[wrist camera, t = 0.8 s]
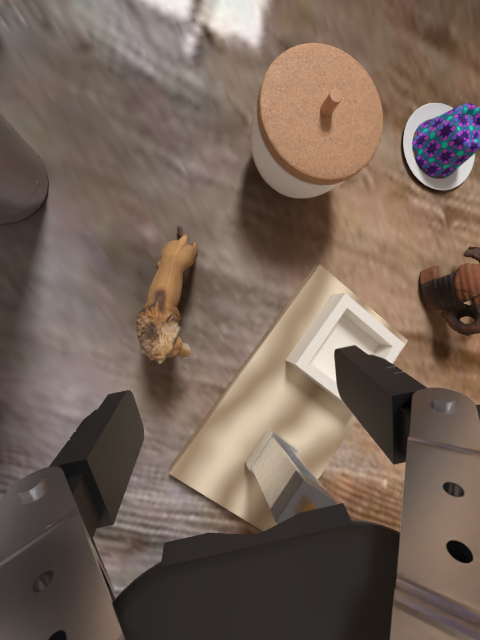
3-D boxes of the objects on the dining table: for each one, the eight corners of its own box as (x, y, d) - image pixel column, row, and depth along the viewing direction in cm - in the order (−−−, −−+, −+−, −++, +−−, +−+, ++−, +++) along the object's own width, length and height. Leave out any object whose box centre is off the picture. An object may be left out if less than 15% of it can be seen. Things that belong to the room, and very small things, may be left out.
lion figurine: (188, 355, 33) (190, 369, 24) (140, 351, 32) (124, 365, 23) (200, 230, 33) (207, 199, 24) (153, 223, 32) (143, 188, 23)
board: (169, 466, 32) (169, 473, 31) (314, 266, 36) (320, 264, 34) (273, 531, 35) (277, 540, 34) (399, 339, 38) (407, 340, 37)
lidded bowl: (342, 207, 36) (409, 162, 26) (250, 220, 34) (282, 176, 23) (324, 108, 36) (386, 19, 25) (229, 115, 33) (252, 19, 22)
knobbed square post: (244, 461, 33) (277, 536, 22) (268, 426, 33) (312, 483, 22) (269, 477, 33) (313, 559, 22) (292, 443, 34) (346, 506, 23)
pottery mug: (414, 250, 39) (491, 227, 33) (436, 272, 45) (505, 256, 39) (421, 333, 36) (508, 324, 30) (444, 345, 42) (520, 340, 36)
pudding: (466, 107, 40) (507, 77, 35) (472, 191, 41) (514, 173, 36) (395, 105, 38) (428, 72, 33) (403, 194, 39) (437, 175, 33)
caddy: (285, 360, 34) (295, 364, 31) (331, 294, 35) (345, 292, 32) (344, 405, 35) (359, 413, 32) (386, 341, 36) (404, 344, 33)
